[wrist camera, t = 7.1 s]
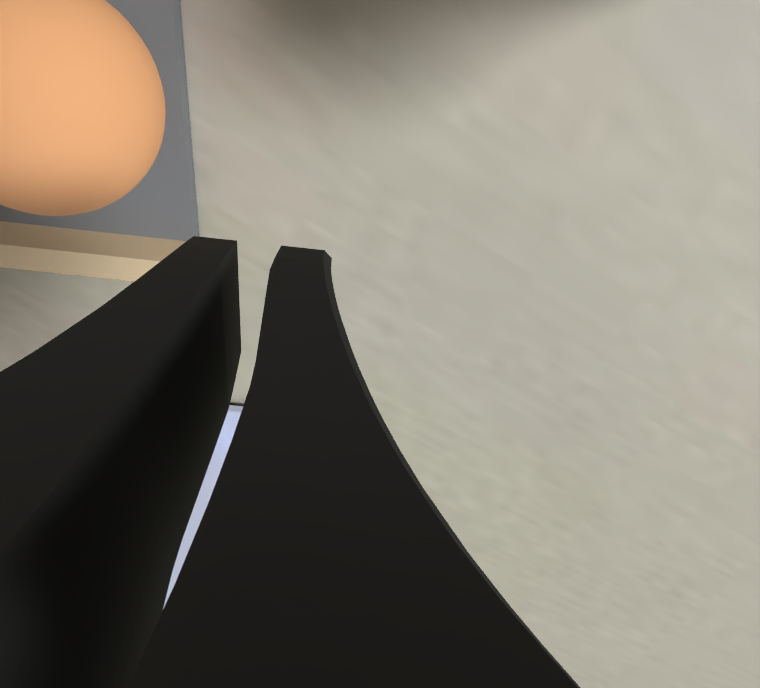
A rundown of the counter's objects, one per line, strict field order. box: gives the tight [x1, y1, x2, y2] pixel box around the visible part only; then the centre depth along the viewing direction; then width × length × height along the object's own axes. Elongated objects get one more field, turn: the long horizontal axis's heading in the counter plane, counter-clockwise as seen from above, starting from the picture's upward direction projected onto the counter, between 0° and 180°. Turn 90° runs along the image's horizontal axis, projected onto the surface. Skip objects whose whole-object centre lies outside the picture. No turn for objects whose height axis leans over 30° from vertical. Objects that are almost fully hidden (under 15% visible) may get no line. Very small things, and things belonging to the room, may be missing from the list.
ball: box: [0, 0, 166, 216], centre depth 14 cm, size 5×5×5 cm
